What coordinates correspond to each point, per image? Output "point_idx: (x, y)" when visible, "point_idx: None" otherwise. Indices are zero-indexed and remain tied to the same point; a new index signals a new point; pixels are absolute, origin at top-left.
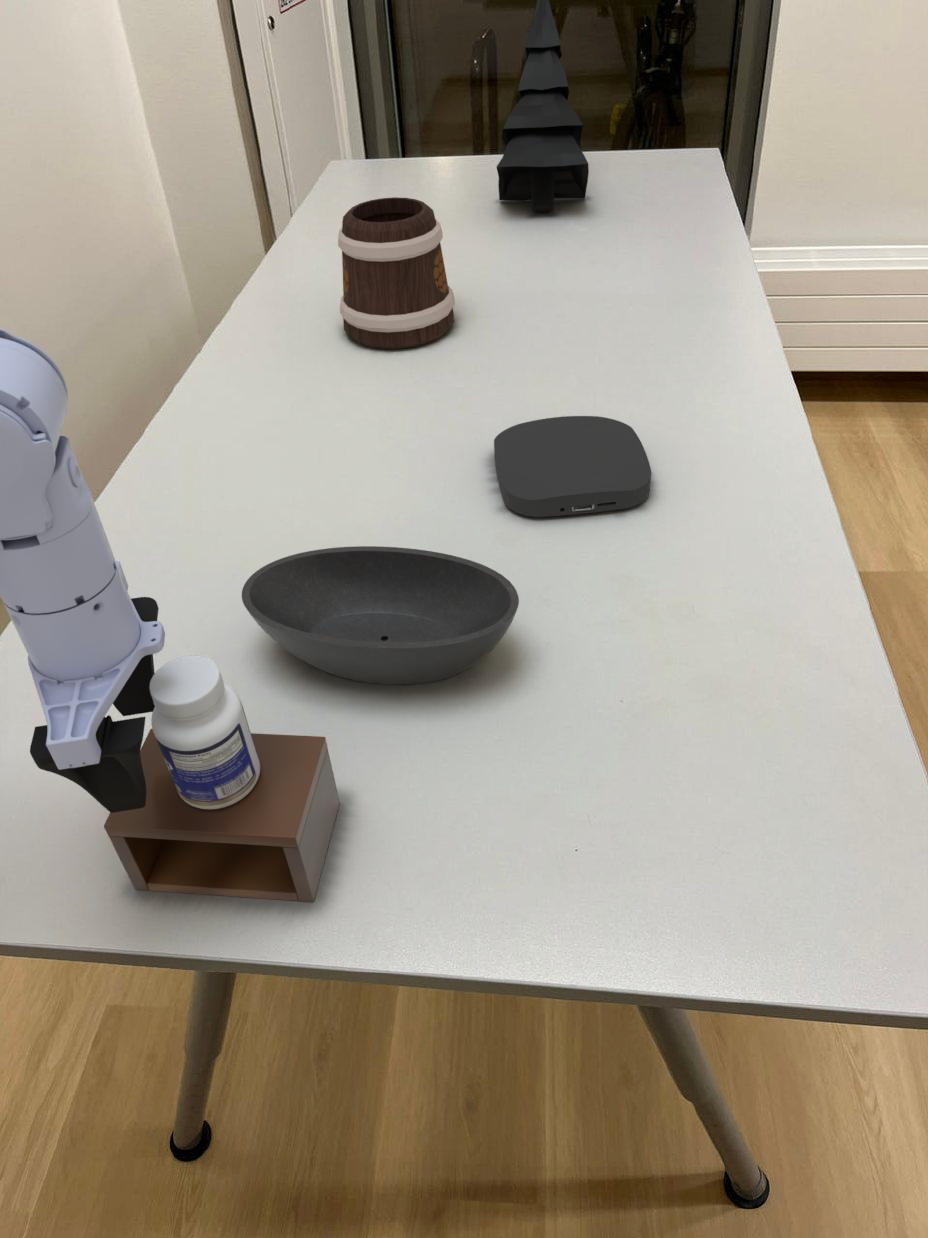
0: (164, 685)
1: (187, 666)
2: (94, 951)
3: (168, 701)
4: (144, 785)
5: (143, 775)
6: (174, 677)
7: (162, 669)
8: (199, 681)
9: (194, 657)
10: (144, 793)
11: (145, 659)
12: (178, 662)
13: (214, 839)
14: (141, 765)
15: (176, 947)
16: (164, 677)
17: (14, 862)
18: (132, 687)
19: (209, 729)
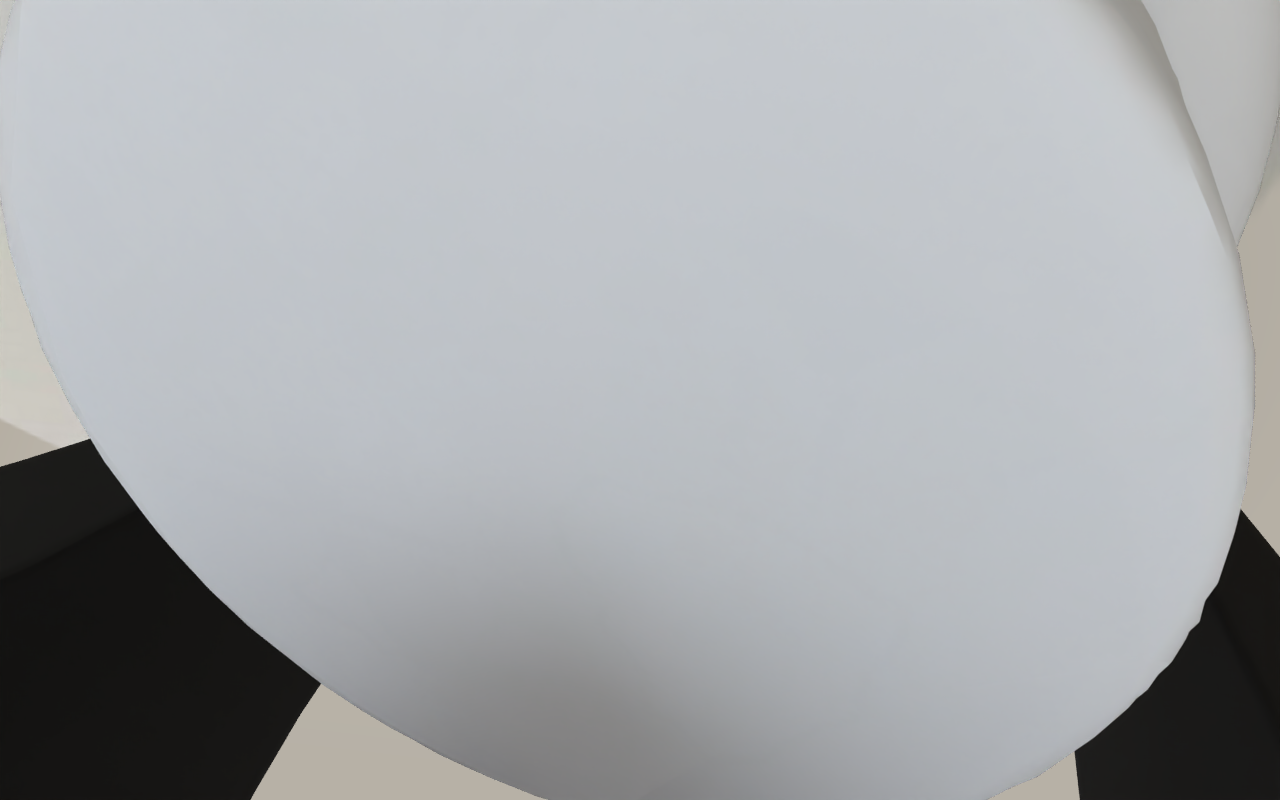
0: (608, 707)
1: (245, 380)
2: None
3: (1000, 770)
4: (1254, 567)
5: (1240, 609)
6: (464, 571)
7: (311, 647)
8: (651, 251)
9: (43, 253)
10: (1268, 544)
11: (146, 544)
12: (177, 470)
13: None
14: (1270, 693)
15: (1271, 172)
16: (453, 666)
17: None
18: None
19: (1210, 47)
